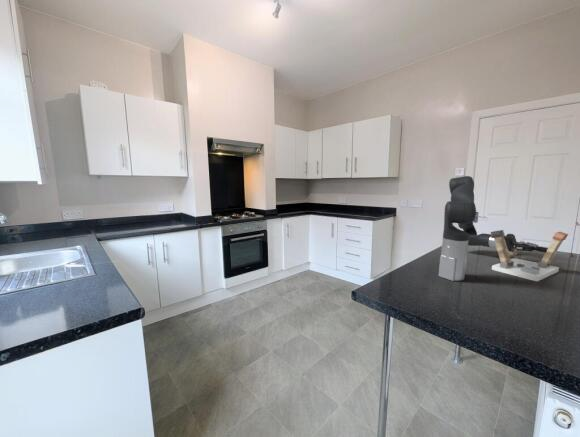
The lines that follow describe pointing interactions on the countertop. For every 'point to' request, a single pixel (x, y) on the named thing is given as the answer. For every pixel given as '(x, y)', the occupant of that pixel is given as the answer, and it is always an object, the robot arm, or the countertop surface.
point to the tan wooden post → (501, 246)
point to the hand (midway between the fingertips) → (548, 250)
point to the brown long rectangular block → (554, 247)
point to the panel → (526, 275)
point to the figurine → (514, 249)
